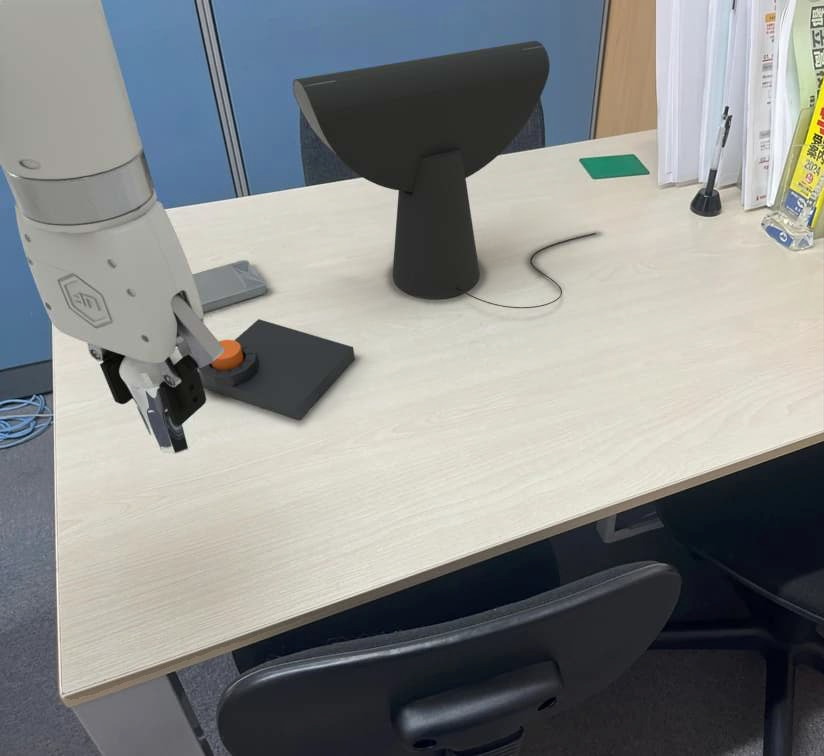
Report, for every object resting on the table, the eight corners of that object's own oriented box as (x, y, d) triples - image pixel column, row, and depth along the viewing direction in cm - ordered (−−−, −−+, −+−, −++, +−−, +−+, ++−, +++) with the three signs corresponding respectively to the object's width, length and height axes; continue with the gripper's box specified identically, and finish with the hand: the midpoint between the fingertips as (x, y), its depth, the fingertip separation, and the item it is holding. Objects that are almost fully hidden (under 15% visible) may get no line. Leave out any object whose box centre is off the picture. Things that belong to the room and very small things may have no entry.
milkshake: (143, 472, 56) (106, 376, 49) (149, 424, 59) (116, 329, 53) (205, 464, 57) (177, 369, 50) (207, 417, 61) (182, 323, 54)
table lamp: (476, 194, 123) (477, 4, 103) (622, 242, 112) (655, 40, 93) (312, 303, 97) (272, 77, 78) (482, 379, 86) (486, 140, 67)
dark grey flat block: (192, 390, 83) (185, 367, 81) (259, 330, 92) (254, 308, 90) (295, 424, 80) (290, 402, 77) (355, 358, 89) (352, 336, 86)
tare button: (204, 365, 82) (200, 353, 81) (225, 347, 85) (221, 336, 83) (230, 374, 81) (226, 362, 80) (250, 355, 84) (247, 344, 82)
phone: (269, 293, 99) (267, 285, 98) (149, 330, 92) (146, 322, 91) (248, 266, 104) (246, 258, 103) (133, 299, 97) (130, 291, 96)
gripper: (-75, 177, 43) (38, 401, 55) (149, 242, 38) (219, 470, 50) (31, 134, 48) (113, 346, 60) (238, 187, 44) (283, 405, 56)
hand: (161, 401), depth 55 cm, fingers closed on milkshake, 4 cm apart
